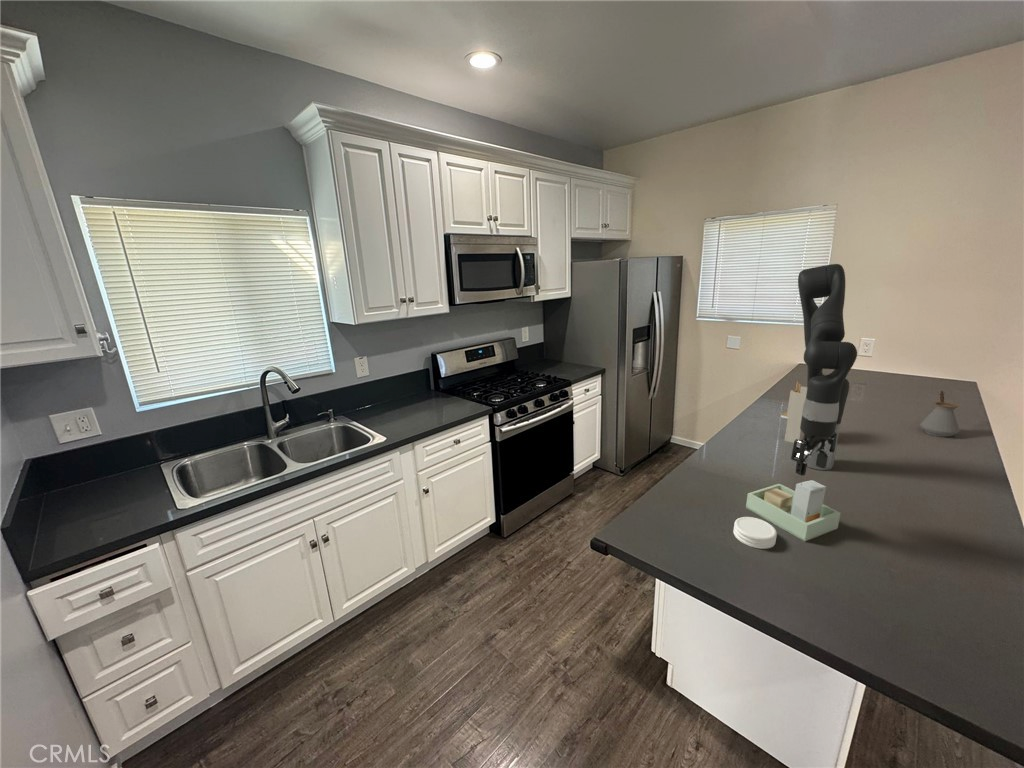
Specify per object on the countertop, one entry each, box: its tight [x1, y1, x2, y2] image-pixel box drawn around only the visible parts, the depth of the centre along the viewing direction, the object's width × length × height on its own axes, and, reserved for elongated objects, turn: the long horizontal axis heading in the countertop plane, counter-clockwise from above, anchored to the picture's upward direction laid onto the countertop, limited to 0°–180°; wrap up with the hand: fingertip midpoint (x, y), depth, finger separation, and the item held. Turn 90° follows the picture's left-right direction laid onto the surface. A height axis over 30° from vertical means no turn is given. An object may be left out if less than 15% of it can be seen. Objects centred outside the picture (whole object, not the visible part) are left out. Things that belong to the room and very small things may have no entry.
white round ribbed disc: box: [732, 516, 778, 550], centre depth 110 cm, size 10×10×4 cm
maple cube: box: [764, 488, 793, 512], centre depth 121 cm, size 5×5×5 cm
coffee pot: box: [919, 390, 961, 438], centre depth 172 cm, size 21×12×15 cm, turn 140°
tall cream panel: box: [780, 380, 807, 444], centre depth 168 cm, size 8×12×26 cm
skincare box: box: [791, 479, 827, 523], centre depth 113 cm, size 6×4×12 cm
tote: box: [745, 483, 842, 542], centre depth 117 cm, size 14×18×5 cm
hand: (810, 470), depth 112 cm, fingers open, 8 cm apart
